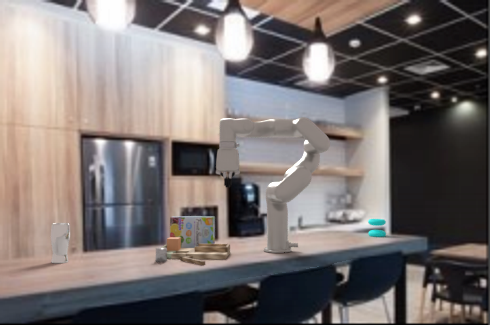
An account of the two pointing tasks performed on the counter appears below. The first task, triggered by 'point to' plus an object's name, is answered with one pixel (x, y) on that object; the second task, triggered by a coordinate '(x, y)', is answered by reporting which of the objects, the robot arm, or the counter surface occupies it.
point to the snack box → (193, 230)
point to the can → (161, 254)
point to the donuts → (377, 223)
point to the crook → (192, 260)
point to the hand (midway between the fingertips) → (227, 187)
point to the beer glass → (60, 242)
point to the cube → (174, 243)
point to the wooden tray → (201, 252)
